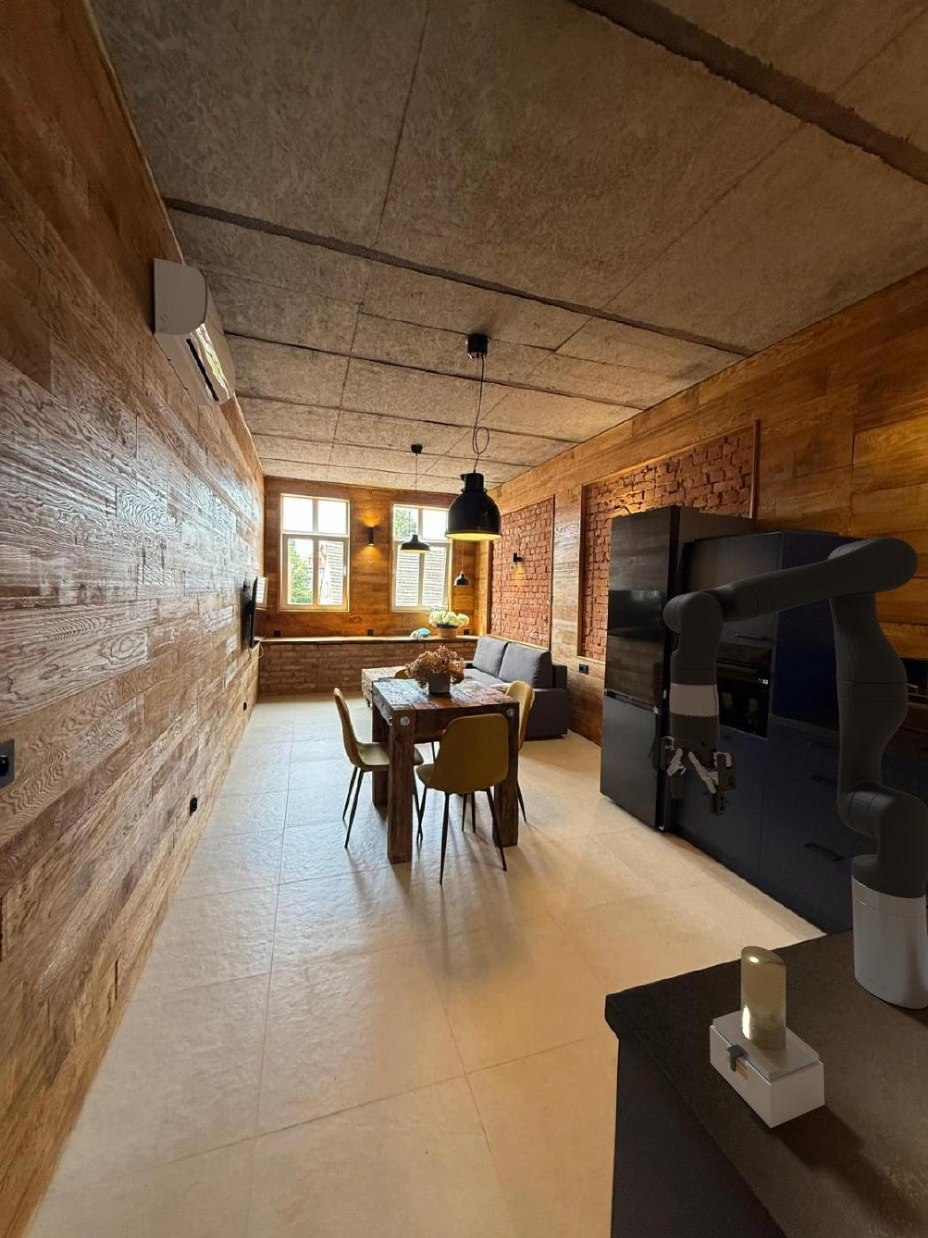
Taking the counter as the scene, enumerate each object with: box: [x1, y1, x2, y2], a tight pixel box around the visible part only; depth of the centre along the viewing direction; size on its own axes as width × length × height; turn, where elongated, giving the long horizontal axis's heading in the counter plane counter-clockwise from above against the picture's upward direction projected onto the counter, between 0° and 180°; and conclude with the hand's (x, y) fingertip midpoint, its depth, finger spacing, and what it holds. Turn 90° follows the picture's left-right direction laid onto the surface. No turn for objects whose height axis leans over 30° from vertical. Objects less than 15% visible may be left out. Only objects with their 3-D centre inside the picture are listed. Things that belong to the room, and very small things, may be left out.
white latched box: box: [709, 1024, 825, 1129], centre depth 62 cm, size 9×9×5 cm
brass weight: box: [740, 945, 787, 1051], centre depth 62 cm, size 5×5×10 cm
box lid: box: [712, 1009, 820, 1080], centre depth 62 cm, size 10×8×4 cm
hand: (696, 806), depth 80 cm, fingers open, 8 cm apart
